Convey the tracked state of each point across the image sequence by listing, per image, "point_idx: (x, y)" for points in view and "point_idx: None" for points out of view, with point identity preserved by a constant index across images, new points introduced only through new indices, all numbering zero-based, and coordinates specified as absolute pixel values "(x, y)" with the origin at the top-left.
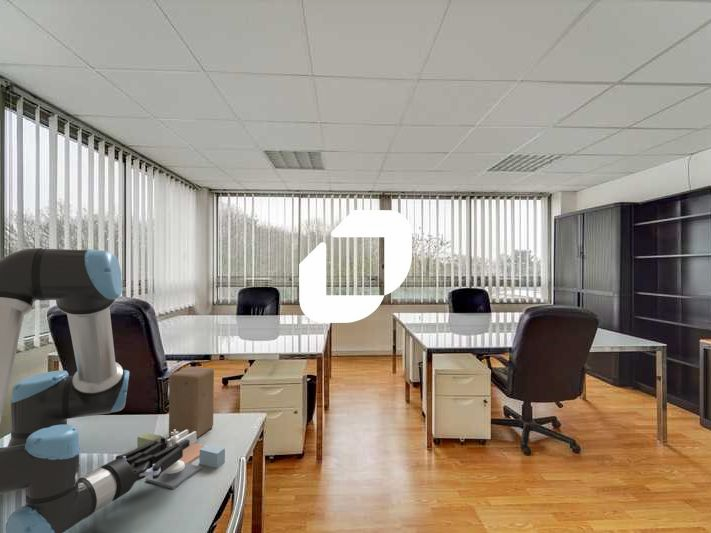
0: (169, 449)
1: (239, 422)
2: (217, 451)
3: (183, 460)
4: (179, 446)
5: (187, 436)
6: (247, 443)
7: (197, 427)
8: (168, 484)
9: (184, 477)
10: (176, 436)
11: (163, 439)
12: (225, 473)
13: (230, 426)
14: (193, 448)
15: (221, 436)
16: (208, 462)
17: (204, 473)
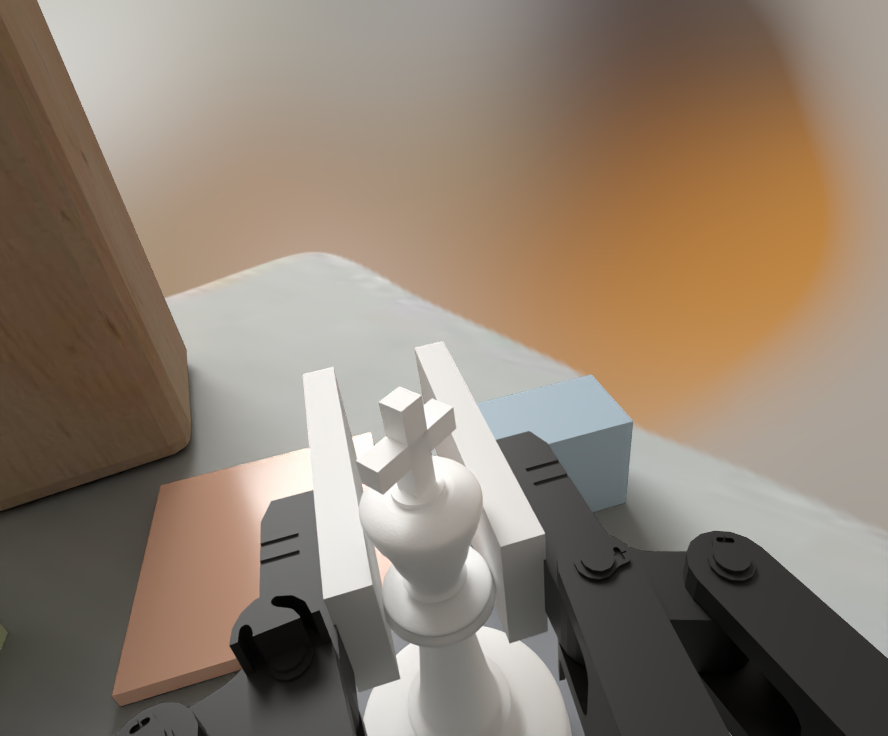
0: (703, 716)
1: (283, 297)
2: (600, 410)
3: None
4: (712, 559)
5: (473, 410)
6: (489, 333)
7: (167, 377)
8: None
9: None
10: (436, 472)
11: (294, 628)
12: (735, 497)
13: (271, 322)
14: (277, 492)
15: (308, 369)
16: None
17: None
